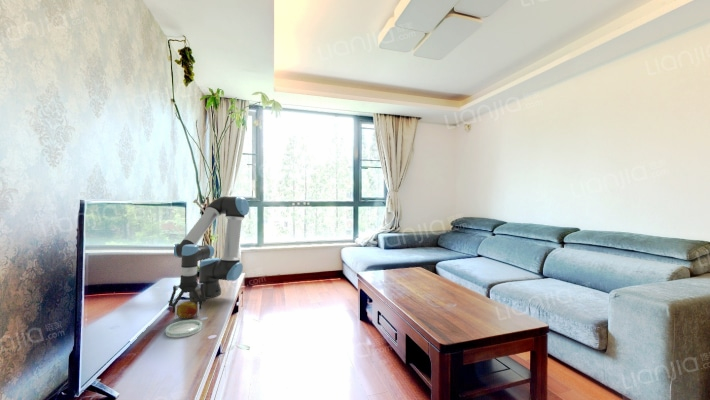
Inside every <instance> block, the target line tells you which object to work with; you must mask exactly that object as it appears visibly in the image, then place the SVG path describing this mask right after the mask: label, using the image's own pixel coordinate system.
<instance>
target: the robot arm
mask: <svg viewBox="0 0 710 400" xmlns="http://www.w3.org/2000/svg"><path fill="white" fill-rule="evenodd" d="M248 201H249V200H247V199H246V198H245V197H242V196H241V197H240V196H220V197H217V198H216V199H214V200H213V201H212V202H210V203H209V204H208V205H207V206H206V207H205V209H204V212H203V214H202V215H201V216H200V218H199V219H198V220H197V221H196V223H195V224H194V226H192V228H191V229H190V230H189V232H188V233H187V234H186V236H184V238H183V239H182V240H181V242H180V243H175V244H174V245H175V247H174V256H175V258H180V259H181V265H180V283H179V285H175V284H174V285H173V287H172V290H173V291H172V293H171V296H170V299H169V301H168V306H169V307H172V313H173V314H174V320H176V321H177V317H178V315H177V309H178V303H179V302H180V299H181V298H182V297H183V295H184V294H186V293H187V294H188V293H189V292H193V293H194V295H195V296H196V298H197V300H198V301H199V302H198V305H197V308H198V309H197V313H196V317H199V316H200V310H202V306H203V303H205V302H206V300H207V299H209V298H214V297H218V296H220V295H221V294H222V288H221V283H220V281H221V280H222V281H228V282H230V281H232V282H234V281H237V280H238V279H239V278H240V276H241V275H242V272H243V269H244V267H243V263H241V262H240V260H241V259H240V257H239V249H240V248H239V247H240V238H241V228H242V220H244V219H245V216H246V215H248V214H249V211H250V203H249V202H248ZM221 215H225V217H226V219H227V223H226V230H225V239H224V248H223V255H222V257H221V258H219V257H213V256H214V254H215V247H214V246H212V245H211V244H205V245H199V244H198V243H199V242H200V241H201V240H202V238H203V236H204V235H205V234H206V232H207V231H208V229H209V228H210V227H211V225H212V224H213V223H214V222H215V220H216V219H218V218H220V216H221ZM174 256H173V257H174ZM212 257H213V258H212ZM198 263H199V265H198ZM198 268H199V269H198ZM198 270H199V273H198ZM198 276H199V277H198ZM197 279H199V280H198V283H197ZM197 286H199V288H200V290H201V294H202V298H203V299H202V300H201V298H200V297H199V295H198V293H197V292H196V290H195V288H196V287H197ZM178 289H180V292H179V294H178V295H177V297H176V298H175V296H176V292H177V291H178ZM174 298H175V300H174ZM173 301H174V302H173Z"/></svg>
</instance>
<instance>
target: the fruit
mask: <svg viewBox="0 0 710 400" xmlns="http://www.w3.org/2000/svg"><path fill="white" fill-rule="evenodd" d="M197 306H198V305H196V304H195V303H194V302H190V301H183V302H181V303H180V304H179V305H178V306H177V317H178V318H181V319H191V318H194V317H196V316H197V309H198V308H197Z"/></svg>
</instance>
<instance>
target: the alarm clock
mask: <svg viewBox="0 0 710 400" xmlns="http://www.w3.org/2000/svg"><path fill="white" fill-rule="evenodd" d="M198 279H199V278H197V283H198V284H199V280H198ZM195 290H196V292H197V293H198V295H199V297H200V298H201V300H202V299H203V298H202V294H201V290H200V288H199V286H197V287H196V288H195ZM188 296H189V302H194V303H195V304H196V305H197V306H198V302H199V301H198V300H197V298H196V296H195V295H194V293H193V292H188Z"/></svg>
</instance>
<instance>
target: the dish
mask: <svg viewBox="0 0 710 400" xmlns="http://www.w3.org/2000/svg"><path fill="white" fill-rule="evenodd" d="M202 329H203V322H202V320H199V319H183V320H179V321H177V322H176V321H175V322H173V323H171V324H169V325H167V326H166V328H165V336H166V337H169V338H175V339H176V338H179V339H180V338H186V337H189V336H193V335H195V334H197V333H199V332H201V331H202Z"/></svg>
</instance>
